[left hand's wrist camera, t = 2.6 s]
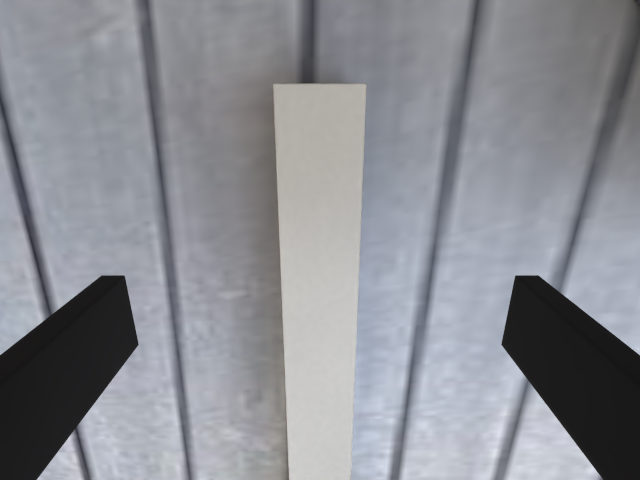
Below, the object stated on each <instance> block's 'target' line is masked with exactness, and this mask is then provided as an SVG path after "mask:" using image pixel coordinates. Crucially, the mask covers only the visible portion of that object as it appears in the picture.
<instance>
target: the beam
mask: <svg viewBox="0 0 640 480" xmlns="http://www.w3.org/2000/svg"><path fill="white" fill-rule="evenodd" d="M366 88H367V84H273V99H274V123H275V148H276V173H277V197H278V222H279V246H280V271H281V296H282V320H283V345H284V370H285V394H286V419H287V443H288V468H289V480H351V461H352V436H353V411H354V386H355V361H356V337H357V312H358V287H359V262H360V237H361V213H362V188H363V163H364V138H365V113H366Z"/></svg>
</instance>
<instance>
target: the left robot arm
mask: <svg viewBox="0 0 640 480" xmlns="http://www.w3.org/2000/svg"><path fill="white" fill-rule="evenodd" d="M636 1H637V3H638V4H639V5H640V0H636ZM137 346H138V340H137V335H136V330H135V325H134V320H133V315H132V310H131V305H130V300H129V295H128V290H127V285H126V280H125V276H101V277H99V278H98V279H97V280H96V281H94V282H93V283H92V284H90V285H89V286H88V287H87V288H85V289H84V290H83V291H82V292H80V293H79V294H78V295H76V296H75V297H74V298H73V299H71V300H70V301H69V302H68V303H66V304H65V305H64V306H62V307H61V308H60V309H59V310H57V311H56V312H55V313H54V314H52V315H51V316H50V317H48V318H47V319H46V320H45V321H43V322H42V323H41V324H40V325H38V326H37V327H36V328H34V329H33V330H32V331H31V332H29V333H28V334H27V335H26V336H24V337H23V338H22V339H20V340H19V341H18V342H17V343H15V344H14V345H13V346H12V347H10V348H9V349H8V350H6V351H5V352H4V353H3V354H1V355H0V480H37V478H38V477H39V476H40V474H41V473H42V472H43V471H44V469H45V468H46V467H47V465H48V464H49V463H50V461H51V460H52V459H53V457H54V456H55V455H56V453H57V452H58V451H59V449H60V448H61V447H62V445H63V444H64V443H65V441H66V440H67V439H68V437H69V436H70V435H71V433H72V432H73V431H74V429H75V428H76V427H77V425H78V424H79V423H80V421H81V420H82V419H83V418H84V416H85V415H86V414H87V412H88V411H89V410H90V408H91V407H92V406H93V404H94V403H95V402H96V400H97V399H98V398H99V396H100V395H101V394H102V392H103V391H104V390H105V388H106V387H107V386H108V384H109V383H110V382H111V380H112V379H113V378H114V376H115V375H116V374H117V372H118V371H119V370H120V369H121V367H122V366H123V365H124V363H125V362H126V361H127V359H128V358H129V357H130V355H131V354H132V353H133V351H134V350H135V349H136V347H137ZM502 346H503V347H504V349H505V350H506V351H507V353H508V354H509V355H510V357H511V358H512V359H513V361H514V362H515V363H516V365H517V366H518V367H519V369H520V370H521V371H522V372H523V374H524V375H525V376H526V378H527V379H528V380H529V382H530V383H531V384H532V386H533V387H534V388H535V390H536V391H537V392H538V394H539V395H540V396H541V398H542V399H543V400H544V402H545V403H546V404H547V406H548V407H549V408H550V410H551V411H552V412H553V414H554V415H555V416H556V418H557V419H558V420H559V421H560V423H561V424H562V425H563V427H564V428H565V429H566V431H567V432H568V433H569V435H570V436H571V437H572V439H573V440H574V441H575V443H576V444H577V445H578V447H579V448H580V449H581V451H582V452H583V453H584V455H585V456H586V457H587V459H588V460H589V461H590V463H591V464H592V465H593V467H594V468H595V469H596V471H597V472H598V473H599V474H600V476H601V477H602V478H603V480H640V355H639V354H637V353H636V352H635V351H634V350H632V349H631V348H630V347H628V346H627V345H626V344H625V343H623V342H622V341H621V340H620V339H618V338H617V337H616V336H614V335H613V334H612V333H611V332H609V331H608V330H607V329H606V328H604V327H603V326H602V325H600V324H599V323H598V322H597V321H595V320H594V319H593V318H592V317H590V316H589V315H588V314H586V313H585V312H584V311H583V310H581V309H580V308H579V307H578V306H576V305H575V304H574V303H572V302H571V301H570V300H569V299H567V298H566V297H565V296H564V295H562V294H561V293H560V292H558V291H557V290H556V289H555V288H553V287H552V286H551V285H550V284H548V283H547V282H546V281H544V280H543V279H542V278H541V277H539V276H515V280H514V285H513V290H512V295H511V300H510V305H509V310H508V315H507V320H506V325H505V330H504V335H503V340H502Z"/></svg>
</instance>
